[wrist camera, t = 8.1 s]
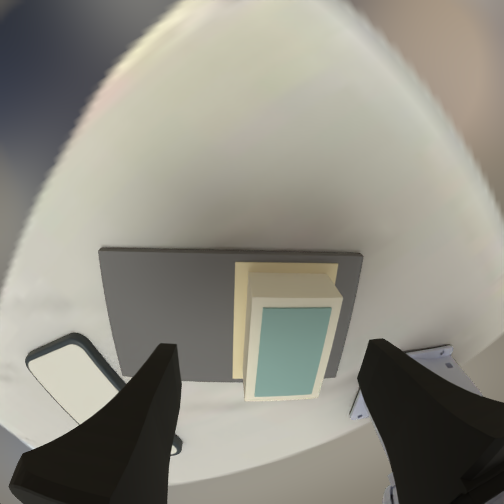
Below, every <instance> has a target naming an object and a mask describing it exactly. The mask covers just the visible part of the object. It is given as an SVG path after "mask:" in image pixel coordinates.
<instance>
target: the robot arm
mask: <svg viewBox="0 0 504 504" xmlns="http://www.w3.org/2000/svg"><path fill="white" fill-rule="evenodd" d="M452 351H453V347H452V346H451V345H448V346H443V347H438V348H432V349H427V350H421V351H415V352H408V353H404V352H403V351H401V350H400V349H399V348H397V347H396V346H394V345H393V344H391V343H390V342H388V341H386V340H385V339H383V338H382V339H372V340H369V343H368V346H367V350H366V353H365V356H364V359H363V362H362V365H361V369H360V372H359V374H358V377H357V379H358V383H359V386H360V390H359V393H358V396H357V398H356V401H355V403H354V406H353V408H352V411H351V413H350V419H352V420H356V419H362V418H367V417H369V418H370V420H371V422H372V424H373V426H374V428H375V431H376V433H377V435H378V437H379V439H380V442H381V444H382V446H383V448H384V451H385V453H386V455H387V458H388V460H389V462H390V464H391V468H392V473H391V474H389V475H388V478H389V481H390V483H391V485H389V486H388V487H387V488H386V489H385V492H384V497H383V501H382V504H504V403H503V402H499V401H495V400H492V399H489V398H485V397H483V396H482V394H481V392H480V390H479V389H478V388H477V386H476V385H475V384H474V383H473V381H472V380H471V379H470V378H469V377H468V375H467V374H466V373H465V372H464V371H463V370H462V368H461V367H460V366H459V365H458V363H457V362H456V361H455V360H454V359H453V358H452V356H451V354H452ZM181 387H182V383H181V375H180V367H179V358H178V349H177V344H169V343H160V344H159V345H158V346H157V347H156V348H155V350H154V351H153V352H152V354H151V355H150V356H149V358H148V359H147V360H146V362H145V363H144V364H143V365H142V367H141V368H140V369H139V370H138V371H137V373H136V374H135V375H134V376H133V377H132V379H131V380H130V381H129V382H128V383H127V384H126V385H125V386H124V387H123V388H122V389H121V390H120V391H119V392H118V393H117V394H116V395H115V396H114V397H113V398H112V399H111V400H110V401H109V402H108V403H107V404H106V405H105V406H104V407H102V408H101V409H100V410H99V411H98V412H96V413H95V414H94V415H93V416H91V417H90V418H89V419H87V420H86V421H85V422H83V423H82V424H80V425H79V426H77V427H76V428H74V429H73V430H71V431H69V432H68V433H66V434H64V435H63V436H61V437H59V438H57V439H55V440H53V441H51V442H49V443H47V444H45V445H43V446H40V447H38V448H36V449H33V450H31V451H28V452H26V453H23V454H22V456H21V458H20V460H19V462H18V464H17V466H16V469H15V471H14V474H13V476H12V479H11V481H10V484H9V488H10V490H11V492H12V494H14V496H15V497H16V498H17V499H19V500H20V501H21V502H22V503H23V504H167V493H168V473H169V462H170V455H171V450H172V445H173V440H174V435H175V430H176V425H177V420H178V415H179V409H180V400H181ZM0 504H1V503H0Z"/></svg>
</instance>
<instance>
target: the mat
mask: <svg viewBox="0 0 504 504" xmlns="http://www.w3.org/2000/svg"><path fill="white" fill-rule="evenodd" d="M98 254H99V261H100V269H101V275H102V282H103V288H104V294H105V300H106V305H107V311H108V316H109V321H110V325H111V330H112V335H113V339H114V343H115V348H116V352H117V356H118V360H119V364H120V368H121V371H122V375H123V376H129V377H133V376H134V375H135V374H136V373H137V371H138V370H139V369H140V368H141V367H142V365H143V364H144V363H145V362H146V360H147V359H148V358H149V356H150V355H151V354H152V352H153V351H154V350H155V348H156V347H157V346H158V345H159V344H160V343H169V344H177V349H178V358H179V367H180V375H181V381H196V382H243V372H242V368H243V351H244V334H245V318H246V302H247V285H248V272H266V273H317V274H327V275H328V276H329V278H330V279H331V281H332V282H333V283H334V285H335V286H336V288H337V289H338V291H339V292H340V294H341V295H342V297H343V301H342V305H341V310H340V314H339V319H338V323H337V328H336V332H335V336H334V340H333V344H332V348H331V352H330V356H329V360H328V364H327V367H326V371H325V375H324V378H334V377H336V373H337V370H338V366H339V362H340V359H341V355H342V351H343V348H344V344H345V340H346V336H347V332H348V328H349V323H350V319H351V315H352V311H353V306H354V302H355V297H356V292H357V287H358V283H359V277H360V272H361V267H362V262H363V255H361V254H360V253H333V252H285V251H237V250H188V249H138V248H101V249H100V250H99V251H98Z"/></svg>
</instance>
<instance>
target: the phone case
mask: <svg viewBox="0 0 504 504" xmlns="http://www.w3.org/2000/svg"><path fill="white" fill-rule="evenodd" d="M25 363H26V366H27V368H28V369H29V371H30V372H31V373H32V374H33V376H34V377H35V378H36V379H37V380H38V382H39V383H40V384H41V385H42V386H43V387H44V389H45V390H46V391H47V392H48V393H49V394H50V395H51V396H52V397H53V399H54V400H55V401H56V402H57V403H58V404H59V405H60V406H61V407H62V408H63V409H64V410H65V411H66V412H67V413H68V414H69V415H70V416H71V417H72V418H73V419H74V420H75V421H76V422H77V423H78V424H79V425H80V424H82V423H83V422H85V421H86V420H87V419H89V418H90V417H91V416H93V415H94V414H95V413H96V412H98V411H99V410H100V409H101V408H102V407H104V406H105V405H106V404H107V403H108V402H109V401H110V400H111V399H112V398H113V397H114V396H115V395H116V394H117V393H118V392H119V391H120V390H121V389H122V388H123V387H124V386H125V385H126V384H125V383H124V381H123V380H122V379H121V378H120V377H119V376H118V375H117V373H116V372H115V371H114V370H113V369H112V368H111V366H110V365H109V364H108V363H107V362H106V360H105V359H104V358H103V357H102V356H101V354H100V353H99V352H98V351H97V349H96V348H95V347H94V346H93V344H92V343H91V342H90V341H89V339H87V338H86V337H85V336H83V335H81V334H78V333H71V334H69V335H66V336H64V337H62V338H60V339H58V340H55V341H53V342H51V343H49V344H47V345H44V346H42V347H40V348H38V349H36V350H33V351H31V352H30V353H29V354H28V355H27V357H26V359H25ZM181 450H182V441H181V439H180V438H179V437H178V436H176V435H174V440H173V445H172V450H171V455H170V456H173V455H177V454H179V453H180V452H181Z"/></svg>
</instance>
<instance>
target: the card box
mask: <svg viewBox="0 0 504 504" xmlns="http://www.w3.org/2000/svg"><path fill="white" fill-rule="evenodd" d="M342 301H343V297H342V295H341V294H340V292H339V291H338V289H337V288H336V286H335V285H334V283H333V282H332V281H331V279H330V278H329V276H328V275H327V274H317V273H266V272H248V285H247V302H246V318H245V334H244V351H243V368H242V372H243V385H244V398H245V401H281V400H299V399H312V398H318V396H319V392H320V389H321V385H322V382H323V378H324V375H325V371H326V367H327V364H328V360H329V356H330V352H331V348H332V344H333V340H334V336H335V332H336V328H337V323H338V319H339V314H340V310H341V305H342Z"/></svg>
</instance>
